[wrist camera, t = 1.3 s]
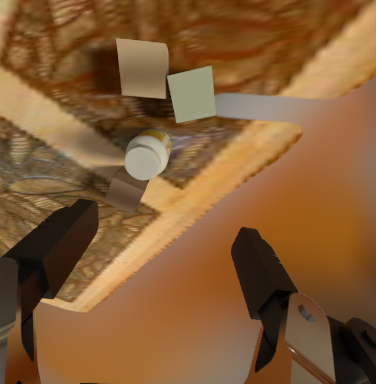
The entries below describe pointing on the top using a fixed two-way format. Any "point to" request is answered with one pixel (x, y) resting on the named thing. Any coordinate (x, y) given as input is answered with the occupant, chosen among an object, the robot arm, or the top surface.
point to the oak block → (143, 68)
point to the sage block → (192, 94)
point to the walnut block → (125, 191)
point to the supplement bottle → (147, 154)
